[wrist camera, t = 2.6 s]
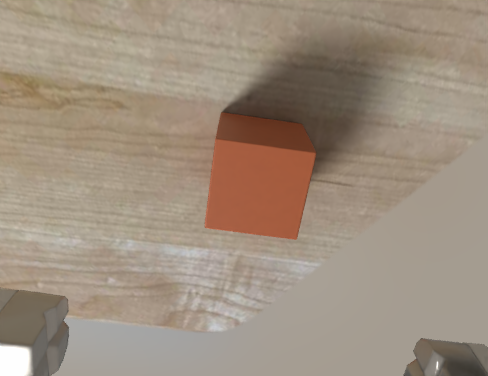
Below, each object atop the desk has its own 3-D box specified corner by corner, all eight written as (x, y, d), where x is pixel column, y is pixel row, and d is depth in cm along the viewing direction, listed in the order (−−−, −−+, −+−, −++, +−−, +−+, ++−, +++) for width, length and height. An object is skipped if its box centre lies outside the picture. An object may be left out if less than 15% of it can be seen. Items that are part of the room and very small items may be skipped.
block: (302, 123, 23) (317, 152, 18) (287, 197, 24) (296, 240, 20) (221, 111, 22) (215, 138, 18) (211, 187, 24) (204, 228, 20)
